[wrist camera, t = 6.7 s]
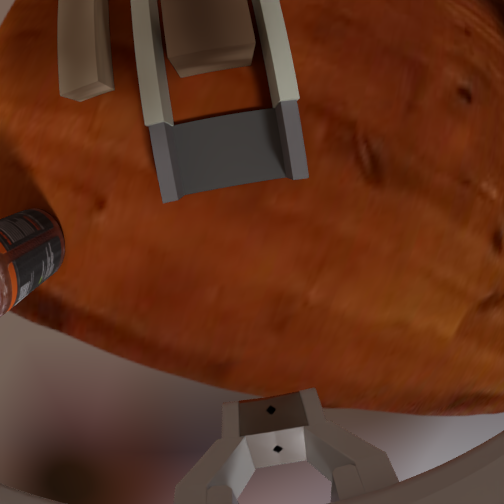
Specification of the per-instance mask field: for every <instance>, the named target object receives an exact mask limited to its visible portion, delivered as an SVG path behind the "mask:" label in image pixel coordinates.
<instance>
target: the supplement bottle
mask: <svg viewBox="0 0 504 504" xmlns="http://www.w3.org/2000/svg"><path fill="white" fill-rule="evenodd" d="M64 254H65V242H64V237H63V234H62V231H61V229H60V227H59V225H58V223H57V222H56V220H55V219H54V218H53V217H52V216H51V215H50V214H48V213H47V212H45V211H43V210H41V209H36V208H33V209H28V210H24V211H21V212H18V213H16V214H13V215H10V216H8V217H5V218H2V219H0V317H1V316H2V315H4V314H5V313H6V312H7V311H9V310H10V309H11V308H12V307H13V306H15V305H16V304H17V303H18V302H19V301H21V300H22V299H23V298H24V297H25V296H26V295H28V294H29V293H30V292H31V291H33V290H34V289H35V288H36V287H38V286H39V285H40V284H41V283H43V282H44V281H45V280H46V279H48V278H49V277H50V276H51V275H53V274H54V273H55V272H56V271H57V270H58V269H59V267H60V266H61V264H62V262H63V259H64Z"/></svg>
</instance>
